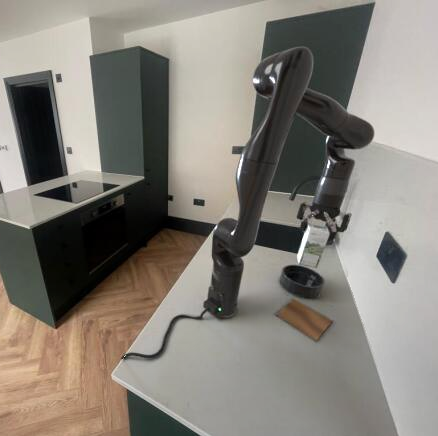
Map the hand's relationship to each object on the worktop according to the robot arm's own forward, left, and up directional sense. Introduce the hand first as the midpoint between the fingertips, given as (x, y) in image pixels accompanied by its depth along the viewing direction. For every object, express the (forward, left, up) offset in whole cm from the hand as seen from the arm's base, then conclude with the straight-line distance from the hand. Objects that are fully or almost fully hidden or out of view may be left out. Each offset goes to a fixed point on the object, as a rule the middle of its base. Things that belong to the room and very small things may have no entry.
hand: (315, 235), depth 80 cm
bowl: (+1, 0, -23) cm, 23 cm away
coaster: (-14, -8, -23) cm, 28 cm away
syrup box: (0, 0, -11) cm, 11 cm away
